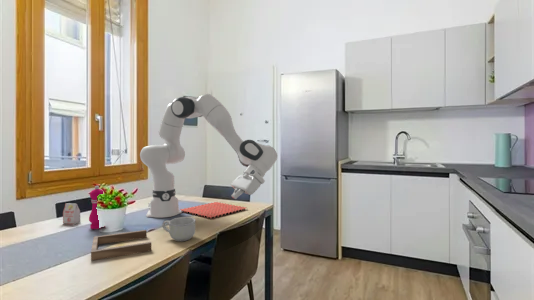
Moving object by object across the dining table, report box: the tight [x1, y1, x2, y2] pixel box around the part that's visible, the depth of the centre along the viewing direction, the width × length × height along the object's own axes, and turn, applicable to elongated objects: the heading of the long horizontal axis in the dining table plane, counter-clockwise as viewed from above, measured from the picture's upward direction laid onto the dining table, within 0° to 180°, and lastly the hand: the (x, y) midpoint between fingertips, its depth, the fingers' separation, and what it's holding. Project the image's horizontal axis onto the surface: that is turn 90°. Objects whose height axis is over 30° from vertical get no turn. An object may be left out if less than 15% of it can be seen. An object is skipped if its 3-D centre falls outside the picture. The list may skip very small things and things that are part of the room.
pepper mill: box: [88, 185, 104, 230], centre depth 144 cm, size 7×7×20 cm
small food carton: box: [62, 202, 81, 225], centre depth 152 cm, size 4×7×10 cm, turn 77°
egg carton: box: [179, 201, 248, 220], centre depth 177 cm, size 28×28×2 cm
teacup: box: [162, 216, 196, 242], centre depth 126 cm, size 14×11×8 cm
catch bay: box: [90, 229, 153, 262], centre depth 116 cm, size 19×20×3 cm
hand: (233, 197), depth 137 cm, fingers closed
